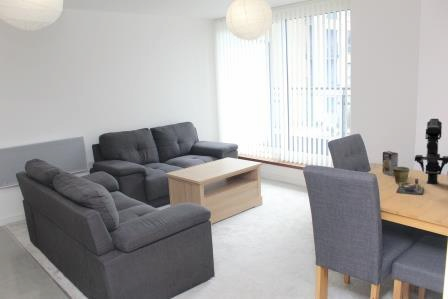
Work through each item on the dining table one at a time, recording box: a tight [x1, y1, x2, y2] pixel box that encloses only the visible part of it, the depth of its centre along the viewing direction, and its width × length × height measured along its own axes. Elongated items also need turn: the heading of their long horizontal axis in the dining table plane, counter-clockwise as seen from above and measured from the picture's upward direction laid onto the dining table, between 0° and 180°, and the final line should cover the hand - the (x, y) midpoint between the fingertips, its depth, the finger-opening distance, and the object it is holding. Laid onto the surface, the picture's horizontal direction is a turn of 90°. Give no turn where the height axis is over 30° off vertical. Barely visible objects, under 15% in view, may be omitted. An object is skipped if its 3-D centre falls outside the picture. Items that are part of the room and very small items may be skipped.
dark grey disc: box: [403, 177, 419, 189], centre depth 244 cm, size 9×7×5 cm
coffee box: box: [382, 150, 399, 176], centre depth 287 cm, size 9×6×16 cm
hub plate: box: [395, 183, 424, 196], centre depth 244 cm, size 14×14×3 cm
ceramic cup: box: [393, 166, 410, 185], centre depth 263 cm, size 13×10×10 cm
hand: (431, 172), depth 236 cm, fingers open, 9 cm apart
